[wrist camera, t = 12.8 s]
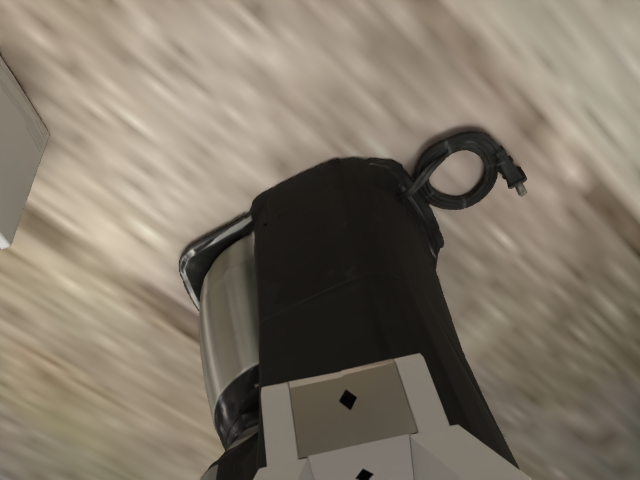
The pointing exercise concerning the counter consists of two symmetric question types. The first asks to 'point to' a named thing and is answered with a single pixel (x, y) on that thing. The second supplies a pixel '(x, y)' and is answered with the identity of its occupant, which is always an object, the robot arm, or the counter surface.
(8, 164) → the skincare box
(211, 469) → the coffee maker
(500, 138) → the counter surface
